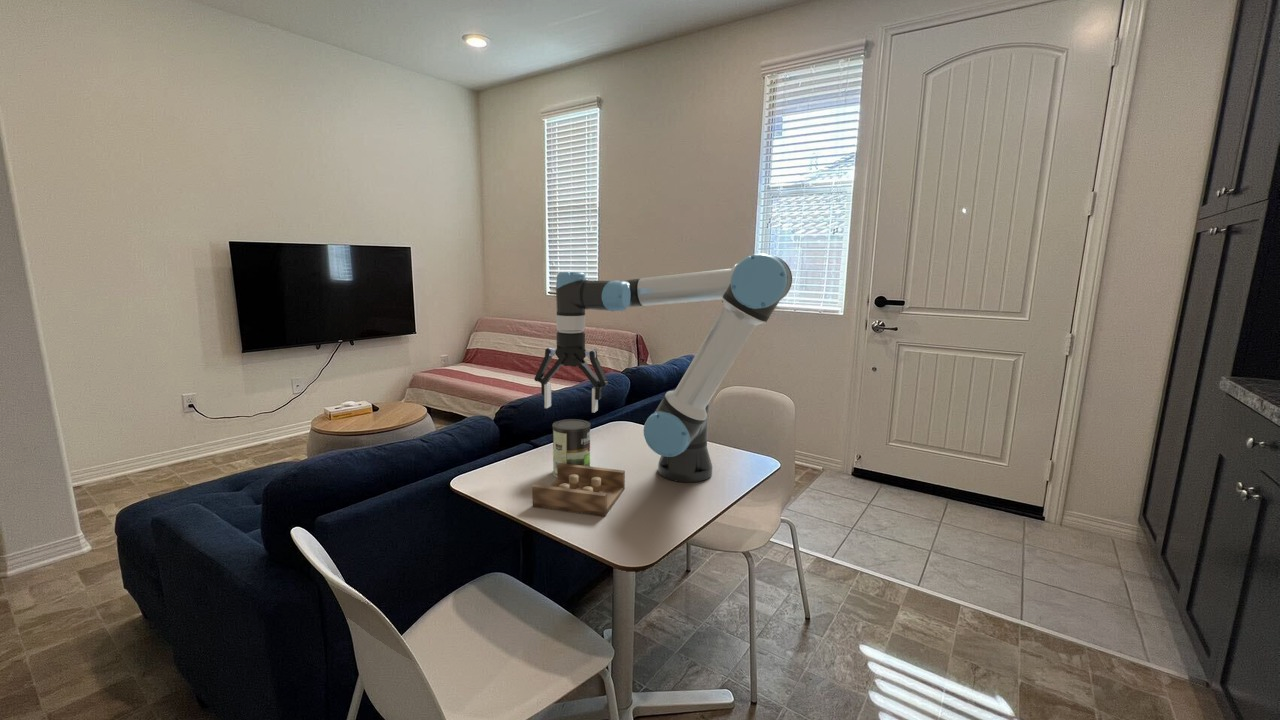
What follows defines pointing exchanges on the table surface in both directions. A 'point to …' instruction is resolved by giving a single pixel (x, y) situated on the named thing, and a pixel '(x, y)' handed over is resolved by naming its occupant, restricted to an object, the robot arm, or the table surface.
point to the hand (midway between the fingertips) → (571, 409)
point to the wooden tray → (581, 490)
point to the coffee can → (571, 443)
